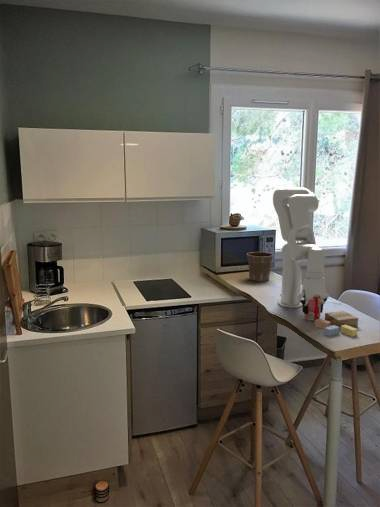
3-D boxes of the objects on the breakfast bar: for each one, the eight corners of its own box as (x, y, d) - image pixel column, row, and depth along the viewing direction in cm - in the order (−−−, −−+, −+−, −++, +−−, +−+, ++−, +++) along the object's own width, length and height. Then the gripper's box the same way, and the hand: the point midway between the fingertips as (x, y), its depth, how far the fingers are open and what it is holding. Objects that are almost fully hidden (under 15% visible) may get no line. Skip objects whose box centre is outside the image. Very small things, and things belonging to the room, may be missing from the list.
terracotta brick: (314, 326, 196) (314, 320, 195) (317, 324, 198) (318, 318, 197) (327, 330, 192) (327, 323, 191) (330, 328, 194) (330, 321, 193)
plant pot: (241, 277, 282) (242, 252, 279) (264, 275, 286) (265, 251, 283) (252, 283, 266) (253, 257, 263) (276, 281, 271) (278, 255, 268)
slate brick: (329, 336, 184) (329, 329, 184) (323, 334, 187) (324, 327, 186) (339, 334, 187) (339, 327, 187) (333, 331, 190) (334, 325, 189)
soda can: (317, 316, 208) (318, 292, 206) (322, 322, 201) (323, 296, 199) (302, 316, 208) (303, 292, 205) (306, 322, 201) (308, 296, 199)
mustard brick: (340, 332, 189) (340, 325, 188) (345, 331, 190) (345, 324, 190) (352, 337, 184) (352, 330, 183) (356, 335, 185) (357, 328, 185)
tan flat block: (324, 321, 202) (325, 312, 201) (343, 319, 205) (344, 311, 204) (337, 329, 192) (338, 320, 192) (357, 326, 195) (358, 318, 195)
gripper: (326, 272, 206) (324, 308, 210) (293, 274, 201) (291, 311, 205) (336, 275, 199) (333, 313, 203) (302, 278, 194) (300, 317, 198)
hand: (312, 312), depth 204 cm, fingers open, 7 cm apart
